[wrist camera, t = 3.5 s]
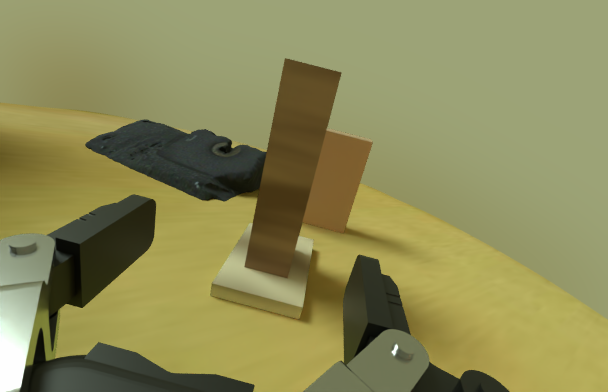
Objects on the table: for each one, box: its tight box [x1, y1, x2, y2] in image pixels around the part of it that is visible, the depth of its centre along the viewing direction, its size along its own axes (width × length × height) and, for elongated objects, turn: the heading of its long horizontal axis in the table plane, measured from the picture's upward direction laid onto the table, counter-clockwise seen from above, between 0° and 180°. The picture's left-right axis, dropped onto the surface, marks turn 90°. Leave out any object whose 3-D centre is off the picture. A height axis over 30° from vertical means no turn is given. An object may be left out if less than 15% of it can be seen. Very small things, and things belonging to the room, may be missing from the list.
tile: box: [303, 128, 372, 233], centre depth 32 cm, size 2×8×10 cm, turn 83°
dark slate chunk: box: [85, 120, 267, 201], centre depth 41 cm, size 15×22×5 cm
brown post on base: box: [210, 59, 341, 319], centre depth 22 cm, size 9×6×15 cm, turn 174°
